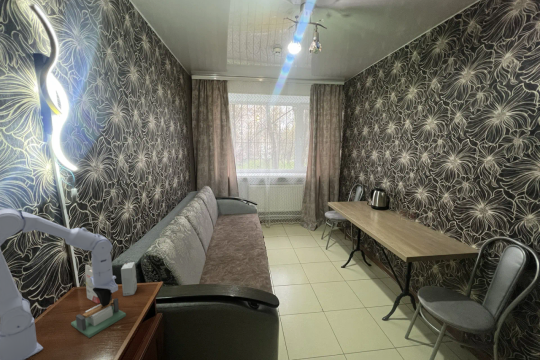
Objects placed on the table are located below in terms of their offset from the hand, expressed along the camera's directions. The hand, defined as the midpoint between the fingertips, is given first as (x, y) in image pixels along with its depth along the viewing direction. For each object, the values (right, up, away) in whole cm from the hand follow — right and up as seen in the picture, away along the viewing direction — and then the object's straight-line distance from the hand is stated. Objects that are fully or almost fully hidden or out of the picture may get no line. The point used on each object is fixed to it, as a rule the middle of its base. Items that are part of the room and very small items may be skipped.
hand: (105, 304), depth 86 cm
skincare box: (-1, -3, +16) cm, 17 cm away
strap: (-1, -1, -1) cm, 2 cm away
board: (-1, -5, -1) cm, 5 cm away
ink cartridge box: (-11, -4, +12) cm, 17 cm away
